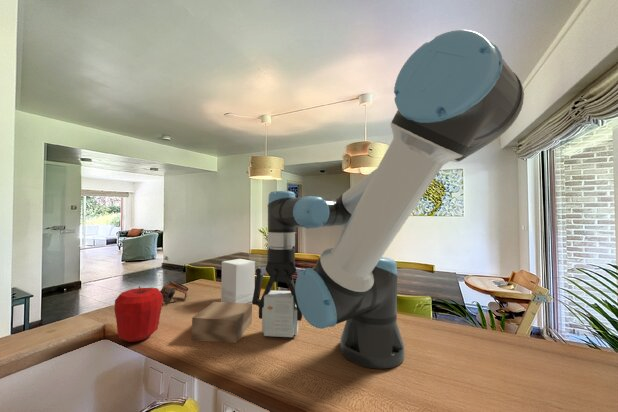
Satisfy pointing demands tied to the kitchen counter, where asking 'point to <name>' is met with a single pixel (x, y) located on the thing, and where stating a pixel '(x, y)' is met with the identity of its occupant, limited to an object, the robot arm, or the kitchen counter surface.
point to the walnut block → (222, 322)
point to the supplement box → (237, 281)
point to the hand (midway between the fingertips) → (280, 331)
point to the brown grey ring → (172, 291)
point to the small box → (279, 314)
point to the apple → (138, 313)
